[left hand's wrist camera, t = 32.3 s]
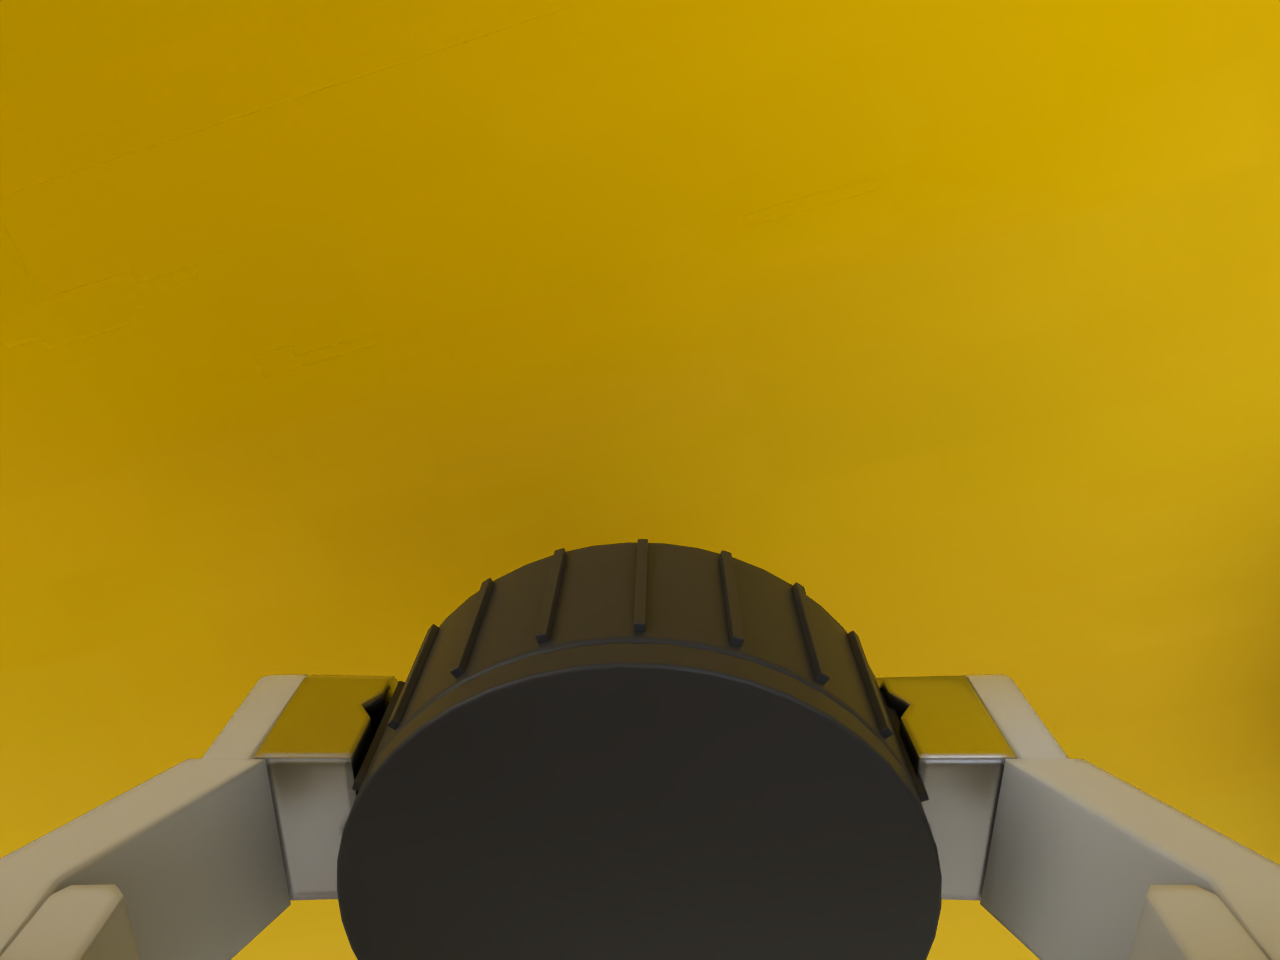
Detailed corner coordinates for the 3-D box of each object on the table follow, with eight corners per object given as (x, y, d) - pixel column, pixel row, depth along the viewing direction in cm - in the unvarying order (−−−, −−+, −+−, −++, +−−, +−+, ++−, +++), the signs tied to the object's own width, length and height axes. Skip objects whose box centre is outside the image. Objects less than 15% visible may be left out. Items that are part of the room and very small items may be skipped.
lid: (566, 429, 9) (539, 530, 7) (1001, 708, 10) (1088, 863, 8) (308, 798, 11) (225, 962, 9) (698, 993, 12) (705, 1176, 10)
